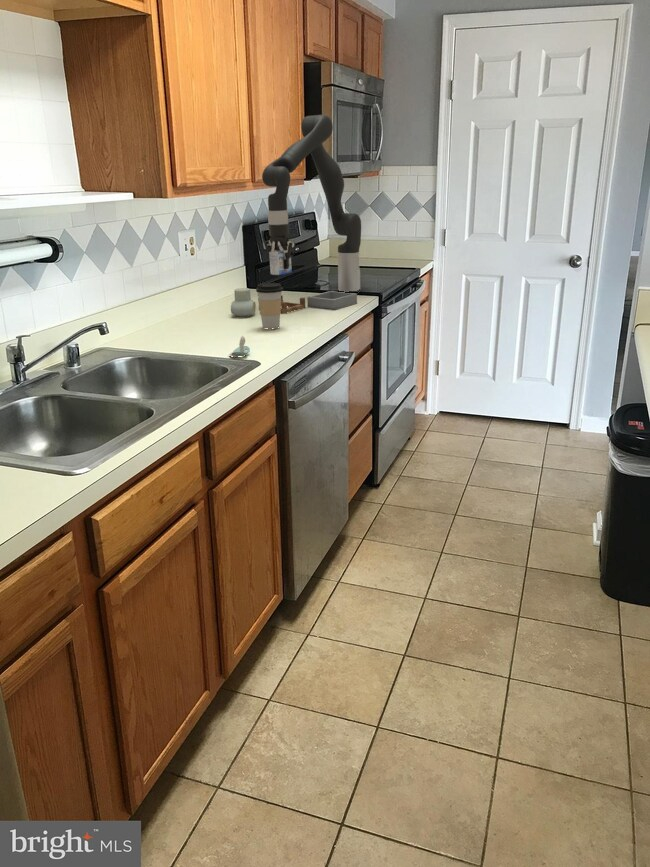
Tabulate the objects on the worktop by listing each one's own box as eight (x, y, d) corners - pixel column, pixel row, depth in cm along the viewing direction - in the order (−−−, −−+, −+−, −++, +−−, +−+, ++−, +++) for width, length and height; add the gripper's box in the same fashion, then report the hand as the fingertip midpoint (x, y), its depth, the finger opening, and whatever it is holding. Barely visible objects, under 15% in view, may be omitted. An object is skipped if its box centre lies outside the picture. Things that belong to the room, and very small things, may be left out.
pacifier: (226, 359, 212) (246, 359, 212) (224, 339, 210) (244, 338, 209) (232, 353, 219) (251, 353, 218) (230, 333, 217) (249, 332, 216)
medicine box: (278, 275, 273) (277, 252, 269) (270, 274, 275) (268, 251, 272) (292, 272, 278) (291, 249, 275) (283, 271, 281) (282, 249, 278)
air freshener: (252, 318, 266) (250, 291, 263) (230, 318, 267) (228, 291, 263) (256, 312, 276) (255, 286, 273) (235, 312, 277) (233, 286, 273)
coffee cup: (252, 327, 251) (250, 284, 246) (274, 323, 257) (272, 281, 251) (268, 332, 244) (266, 287, 239) (290, 327, 250) (288, 284, 245)
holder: (280, 304, 290) (279, 295, 289) (305, 308, 283) (305, 297, 281) (259, 310, 280) (258, 300, 279) (284, 313, 273) (284, 303, 272)
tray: (330, 300, 297) (330, 290, 295) (357, 303, 289) (356, 293, 288) (307, 307, 285) (307, 297, 283) (334, 310, 277) (333, 300, 276)
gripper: (299, 222, 269) (301, 268, 275) (270, 221, 277) (273, 266, 283) (287, 224, 263) (289, 271, 269) (257, 223, 271) (260, 268, 277)
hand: (280, 268), depth 276 cm, fingers closed on medicine box, 4 cm apart
